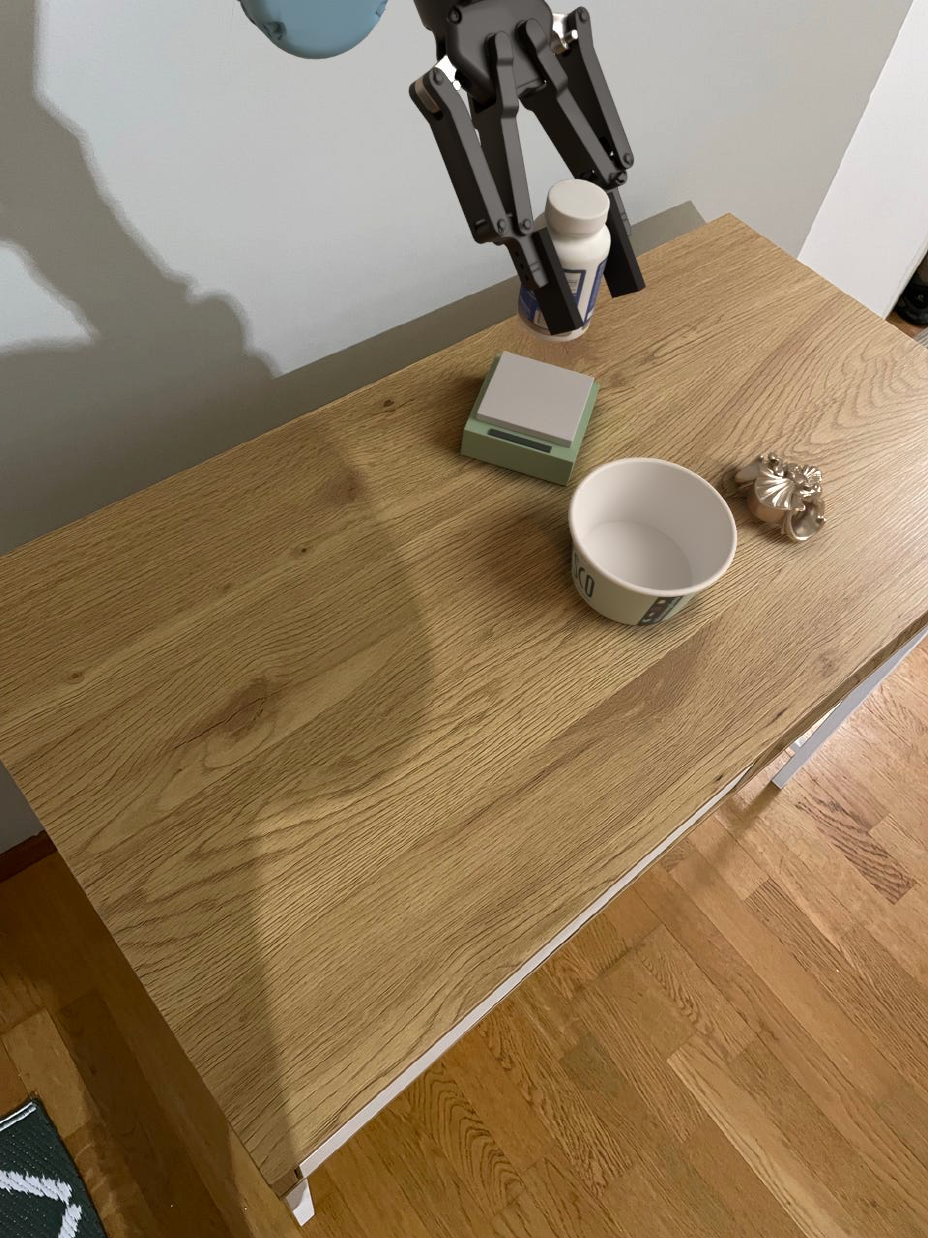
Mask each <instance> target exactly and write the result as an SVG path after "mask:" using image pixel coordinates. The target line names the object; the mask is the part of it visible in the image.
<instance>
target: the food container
mask: <svg viewBox="0 0 928 1238" xmlns="http://www.w3.org/2000/svg"><path fill="white" fill-rule="evenodd" d="M567 520H568V521H567V522H568V528H569V532H570V536H571V538H572V540H571V541H572V542H571V576H572V581H573V583H574V585H575V588H576V590H577V592H578V594H579V595H580V597H581V598H582V599H583V601H585V603H586V604H587V605H588V606H589V607H591V608H592V609H593V610H594V611H595V612H596V613H598V614H599V615H601V616H603V617H605V618H607V619H609V620H612V621H614V622H616V623H620V624H624V625H628V626H629V625H630V626H650V625H656V624H660V623H662V622H664V621H666V620H669V619H670V618H671V617H673V616H675V615H676V614H678V613H679V612H680V611H681V609H682V608H683V607H684V606H686V605H687V604H688V603H689V602H690V601H691V600H692V599H693V598H694V597H695V596H696V595H697V594H698V593H699V592H701V591H702V590H704V589H706V588H708V587H710V586H711V585H713V584H715V583H716V582H717V581H718V580H719V579H721V577H723V575H724V574H725V573H726V572H727V570H728V569H729V568H730V566H731V564H732V563H733V560H734V558H735V554H736V550H737V545H738V532H737V526H736V521H735V517H734V515H733V513H732V511H731V509H730V507H729V506H728V504H727V501H725V499H724V497H723V496H722V495H721V494H720V493H719V491H717V489H716V488H715V487H714V486H713V485H712V484H711V483H710V482H708V481H707V480H706V479H705V478H703V477H702V476H700V475H699V474H697V473H696V472H694V471H692V470H691V469H688V468H687V467H684V466H682V465H680V464H677V463H675V462H671V461H668V460H664V459H660V458H655V457H646V456H635V457H634V456H633V457H624V458H619V459H615V460H611V461H607V462H606V463H604V464H602V465H599V466H597V467H596V468H594V469H593V470H591V471H590V472H589V473H587V474H586V475H585V476H584V477H583V478H582V479H581V480H580V482H578V484H577V485H576V486H575V489H574V491H573V492H572V494H571V497H570V500H569V505H568V511H567Z"/></svg>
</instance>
